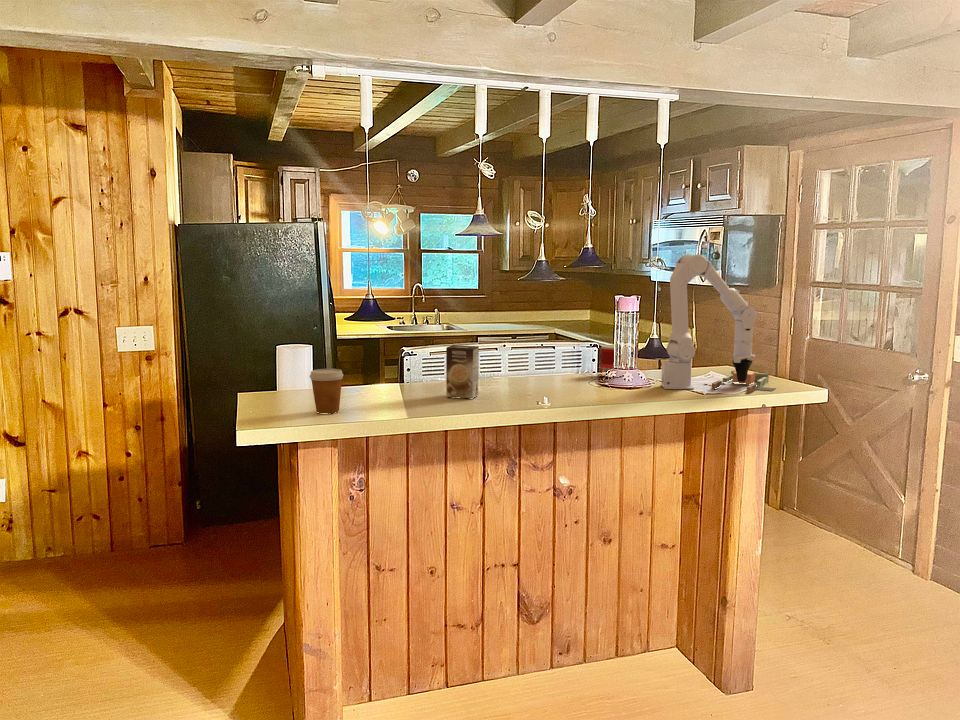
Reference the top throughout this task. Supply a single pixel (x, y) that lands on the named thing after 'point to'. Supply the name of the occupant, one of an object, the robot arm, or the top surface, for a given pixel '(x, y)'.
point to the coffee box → (462, 371)
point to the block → (749, 378)
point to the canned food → (607, 357)
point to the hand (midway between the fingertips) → (741, 381)
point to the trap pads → (765, 389)
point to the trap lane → (760, 379)
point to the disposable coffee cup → (327, 389)
